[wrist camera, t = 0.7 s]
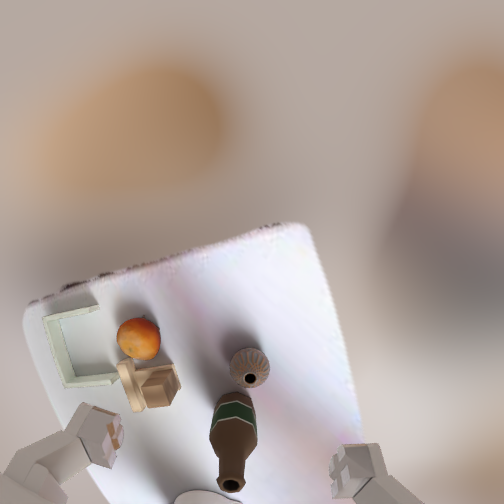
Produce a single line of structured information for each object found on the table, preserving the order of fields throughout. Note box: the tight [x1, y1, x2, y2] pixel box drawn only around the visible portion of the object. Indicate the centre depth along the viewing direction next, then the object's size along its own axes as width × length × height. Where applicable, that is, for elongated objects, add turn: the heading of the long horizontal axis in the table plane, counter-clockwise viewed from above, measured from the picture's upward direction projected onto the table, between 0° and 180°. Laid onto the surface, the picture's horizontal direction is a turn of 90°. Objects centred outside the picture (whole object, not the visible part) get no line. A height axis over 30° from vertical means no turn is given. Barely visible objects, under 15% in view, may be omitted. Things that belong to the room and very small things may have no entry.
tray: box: [42, 304, 120, 388], centre depth 52 cm, size 15×12×4 cm
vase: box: [230, 348, 270, 388], centre depth 51 cm, size 7×7×9 cm
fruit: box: [117, 315, 161, 360], centre depth 52 cm, size 8×8×8 cm
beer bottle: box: [209, 392, 257, 493], centre depth 43 cm, size 8×8×24 cm
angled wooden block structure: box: [116, 358, 181, 412], centre depth 50 cm, size 10×10×10 cm
